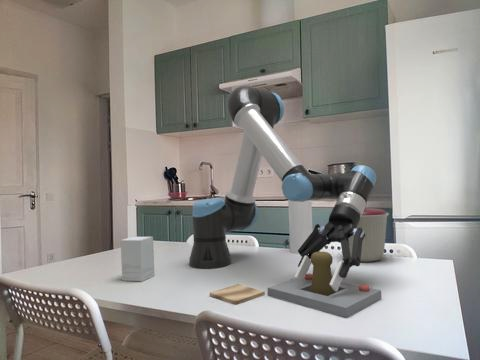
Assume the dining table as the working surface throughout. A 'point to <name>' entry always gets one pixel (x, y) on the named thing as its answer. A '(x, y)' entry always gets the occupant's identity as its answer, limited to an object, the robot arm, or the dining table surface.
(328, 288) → the olive pawn
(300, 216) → the cylinder container
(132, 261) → the supplement box
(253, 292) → the coaster
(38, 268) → the dining table surface
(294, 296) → the plate
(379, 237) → the canister
